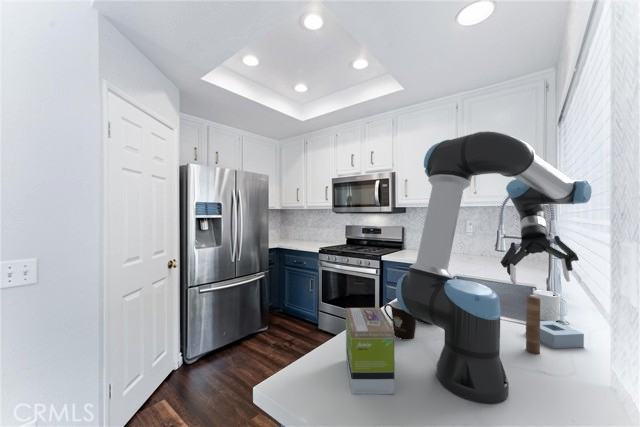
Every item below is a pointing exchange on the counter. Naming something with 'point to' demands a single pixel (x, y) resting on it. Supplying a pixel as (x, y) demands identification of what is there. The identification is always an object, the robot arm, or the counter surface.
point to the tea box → (370, 351)
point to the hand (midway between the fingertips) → (538, 280)
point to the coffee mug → (401, 321)
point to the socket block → (560, 335)
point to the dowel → (533, 325)
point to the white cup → (548, 305)
